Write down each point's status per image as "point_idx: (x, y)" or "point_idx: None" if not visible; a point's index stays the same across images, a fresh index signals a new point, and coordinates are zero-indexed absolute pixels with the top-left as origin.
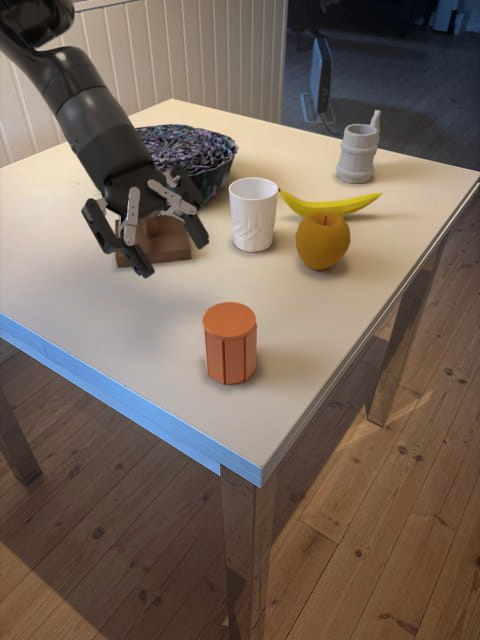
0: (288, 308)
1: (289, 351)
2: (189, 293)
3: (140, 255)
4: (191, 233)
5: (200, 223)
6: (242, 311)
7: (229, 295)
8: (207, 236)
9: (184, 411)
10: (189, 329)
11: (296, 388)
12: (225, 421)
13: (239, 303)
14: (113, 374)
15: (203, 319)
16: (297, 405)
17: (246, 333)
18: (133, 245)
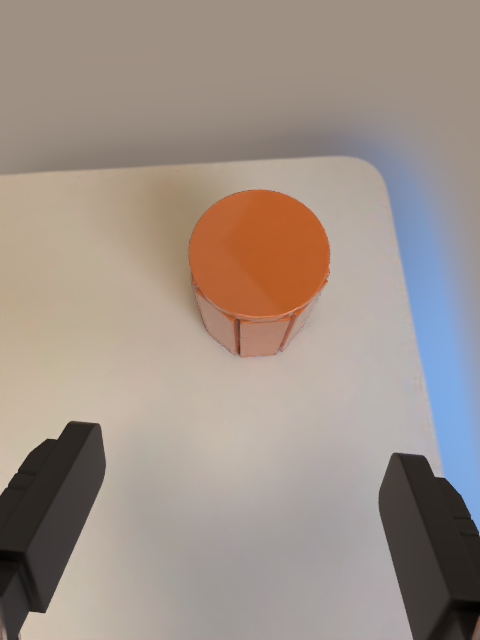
0: (30, 317)
1: (150, 244)
2: (110, 566)
3: (456, 532)
4: (71, 528)
5: (2, 508)
6: (215, 241)
7: None
8: (48, 445)
9: (395, 302)
10: (223, 456)
11: (223, 188)
12: (359, 235)
13: (193, 266)
14: None
15: (307, 299)
16: (253, 169)
17: (271, 192)
18: (472, 619)
